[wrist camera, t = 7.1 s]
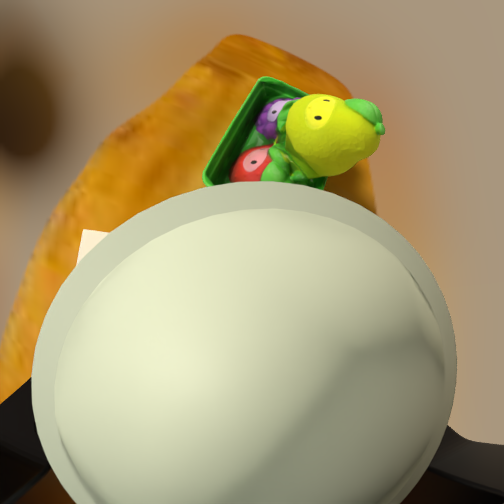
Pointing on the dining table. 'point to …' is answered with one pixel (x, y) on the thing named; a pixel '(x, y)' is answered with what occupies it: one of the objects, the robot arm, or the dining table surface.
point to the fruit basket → (294, 137)
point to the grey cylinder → (246, 356)
